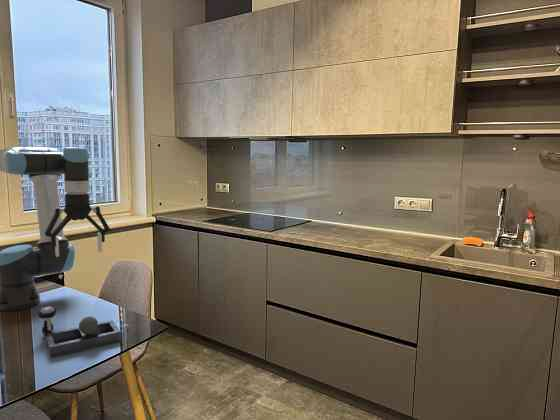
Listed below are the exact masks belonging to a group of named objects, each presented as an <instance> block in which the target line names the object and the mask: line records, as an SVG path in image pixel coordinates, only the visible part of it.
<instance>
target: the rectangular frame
mask: <svg viewBox="0 0 560 420" xmlns="http://www.w3.org/2000/svg"><path fill="white" fill-rule="evenodd" d="M98 329H99V331H100V333H101V334H99V335H95V336H90V335H87V334H83V333H82V332H81V331H80V329H79V326H77V327H72V328H68V329H67V328H66V329H63V330H58V331H57V330H56V331H54V332H52V333H47V334H45V336H44V338H45V346H46V349H47V352H48V356H49V359H54V358H59V357H62V356H67V355H72V354H74V353H80V352H83V351H88V350H92V349H96V348H101V347H104V346H108V345H113V344H118V343H121V342H122V331H121V330H120V329H119V327H118V325H117V324H116V323H115V322H114V320H111V319H110V320H106V321H101V322H98Z"/></svg>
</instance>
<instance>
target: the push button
mask: <svg viewBox="0 0 560 420" xmlns="http://www.w3.org/2000/svg"><path fill="white" fill-rule="evenodd" d="M56 312H57V309H56V308H54V306H43V307H41V309H40V310H39V311H37V315H38V317H39V318H40V319H42V320H44V321H43V322H44V323H43V326H42V328H41V333H42V338H43V339H44V338H45V334H47V333H52V332H55V331H54V325H53V324H52V318H53V317H55V316H56V314H57V313H56Z"/></svg>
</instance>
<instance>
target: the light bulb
mask: <svg viewBox="0 0 560 420" xmlns="http://www.w3.org/2000/svg"><path fill="white" fill-rule="evenodd" d="M98 323H99V322H98V319H96V318H95V317H94V316H85V317H83V318H82V319H80V321H79V324H78V327H79V329H80V331H81V332H82V333H83V334H87V335H90V336H95V335H99V334H101V333H100V331H99V329H98ZM90 336H89V337H90Z"/></svg>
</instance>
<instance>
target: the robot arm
mask: <svg viewBox="0 0 560 420" xmlns="http://www.w3.org/2000/svg"><path fill="white" fill-rule="evenodd" d="M89 158H90V157H89V153H88V149H87V148H86V147H73V146H72V147H68V146H65V147H64V148H63V150H62V152H61V151H59V150H58V149H57V148H56V147H55V148H54V147H47V146H45V147H41V146H40V147H35V146H11V147H10V146H9V147H6V148H2V149H1V150H0V171H1V172H3V173H5V174H10V175H16V176H18V175H22V176H24V175H25V176H28V180H29V181H30V182H32V183H33V186H34V194H35V203H36V212H37V213H36V214H37V221H38V228H39V237H40V239H39V240H38V241H37V242H36V247H33V245H31V244H19V245H13V246H9V247H7V248H5V249H2V250H0V311H3V312H13V311H21V310H22V311H23V310H26V309H29V308H32V307H35V306H37V305H38V304H39V303H40V302H41V295H40V293H39V290H38V288H37V287H36V284H35V277H42V276H47V275H53V274H54V275H55V274H61V273H64V272H65V273H66V272H69V271H71V270H72V268H73V266H74V263H75V256H76V255H75V247H74V244H73V243H69V239H68V238H67V237H66V236H64V228H65V227H66V225H68V223H69V222H70V221H71V220H72V221H78V220H80V221H84V220H85V219H86V220H87V221H88V222H89V223H90V224H91V225H92V226H94V227H95V229H96V230H97V231H99V232H97V251H98V252H99V253H102V252H103V243H105V241H106V238H105V235H106V233H108V232H110V231H111V228H110V226H109V225H108V223H107V221H106V219H105V218H104V216H103V214H102V213H101V207H100V206H99V205H95V206H91V205H90V204H91V203H90V202H91V201H90V193H89V192H90V181H89V180H90V179H89V177H90V176H89V175H90V174H89V160H90V159H89ZM61 175H63V177H64V179H63V180H64V181H63V182H64V185H63V186H64V192H65V194H64V208H63V207H62V208H61V204H60V197H59V189H58V188H59V186H58V181H59V180H60V179H61ZM91 212H93V213H95V215H96V216H97V218H98V219H99V222H100V224H101V225H102V226H103V227H102V226H100V225H99V224H98V223H97V222H96V221H95V219H93V217H92V216H90V213H91ZM63 213H65V214H66V215H65V217H64V218H63V219H62V214H63Z"/></svg>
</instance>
